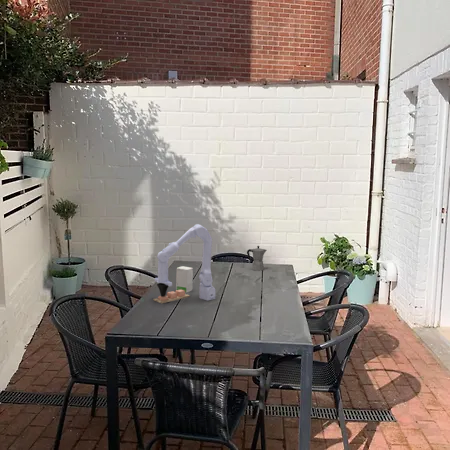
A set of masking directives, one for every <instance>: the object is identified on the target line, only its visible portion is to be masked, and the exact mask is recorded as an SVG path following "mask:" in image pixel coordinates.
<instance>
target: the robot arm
mask: <svg viewBox="0 0 450 450" xmlns="http://www.w3.org/2000/svg"><path fill="white" fill-rule="evenodd" d="M197 237H198V238H200V239H201V240H202V256H201V269H200V271H199V275H198V280H199V281H200V282H199V285H198V286H199V293H198V298H199V299H200V300H203V301H204V300H205V301H212V300H216V288H215V287H214V286H213V277H212V270H211V267H212V266H211V265H212V250H213V249H212V247H213V238H212V236H211V233H210V232H209V230H208V229H207V227H204V226H203V225H201V224H200V223H195V224H194V225H193V226H192V227H190V228H189V229H188V230H187V231H186V232H185V233H183V234H182V236H181V237H180V238H178V240H176V241H172V242H169V243H168V245H167V246H166V247H164V248H162V251H159V252H158V253H157V255H156V258H157V277H155V278H153V279H154V282H156V283H157V284H156V286H157V287H158V290H159V293H160V296H162V297H163V296H165V295H166V296H167V291H168V289H169V287H173V282H172V281H171V280H170V279H169V263H168V262H169V260H170V258H171V257H172V256H174V255H175V254H176V253H177V252H179V250H180V247H181V246H183V244H184V243H186V242H187V241H189V240H190V239H192V238H195V239H196V238H197Z"/></svg>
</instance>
